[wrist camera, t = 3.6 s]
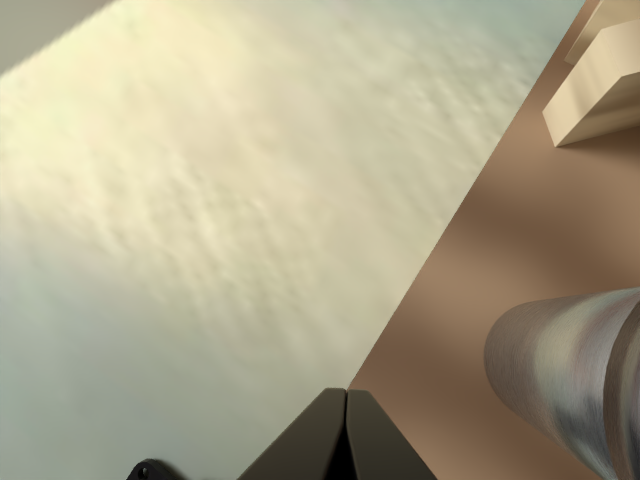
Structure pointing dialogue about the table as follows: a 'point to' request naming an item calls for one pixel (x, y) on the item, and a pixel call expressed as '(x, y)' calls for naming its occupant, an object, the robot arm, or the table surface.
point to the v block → (600, 77)
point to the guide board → (507, 287)
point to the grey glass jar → (574, 375)
